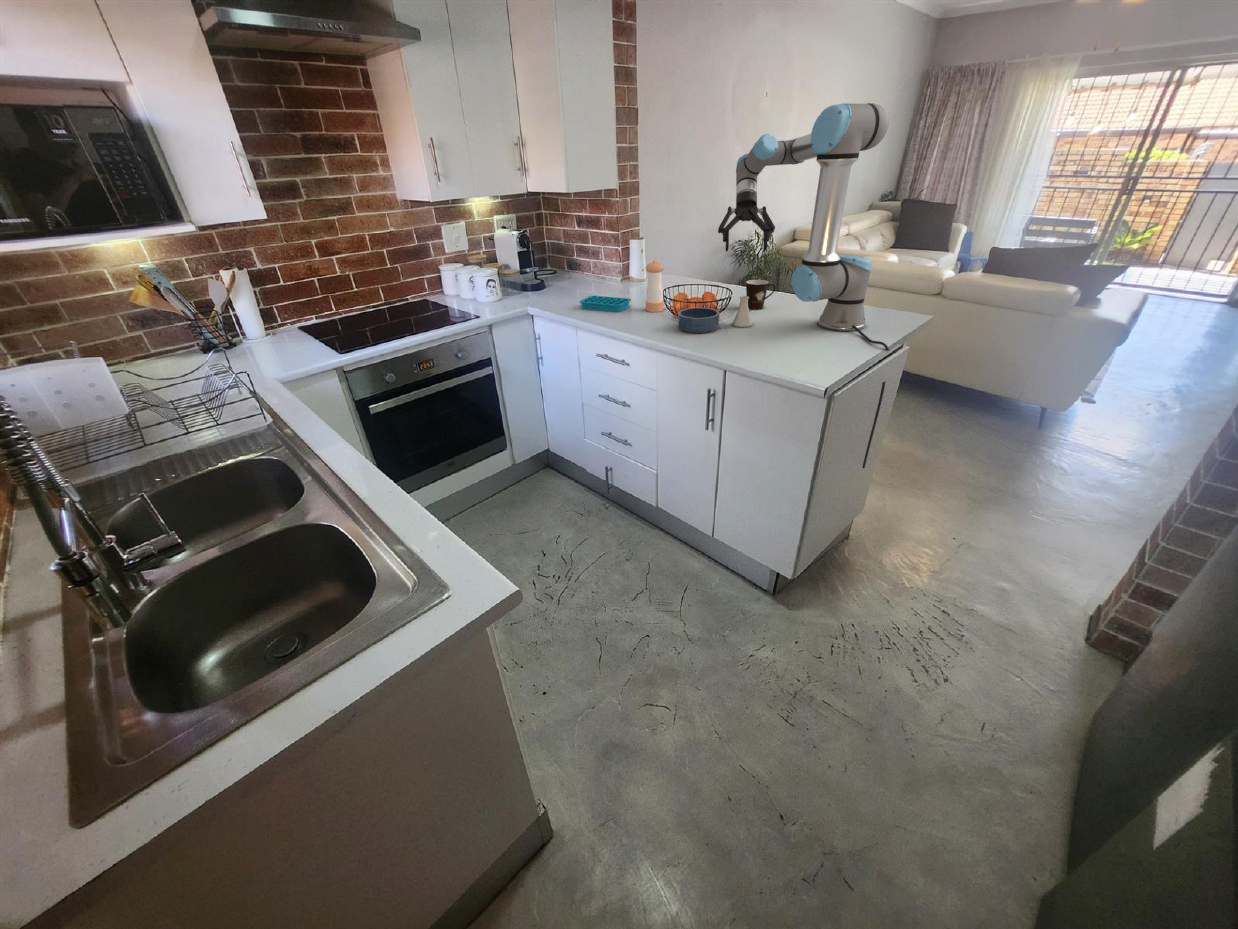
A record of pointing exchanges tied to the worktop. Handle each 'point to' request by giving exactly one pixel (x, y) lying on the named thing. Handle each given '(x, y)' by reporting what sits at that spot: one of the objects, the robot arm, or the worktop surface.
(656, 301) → the pepper shaker
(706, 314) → the bowl
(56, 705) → the worktop surface
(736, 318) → the flask
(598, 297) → the ice cube tray
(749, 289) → the coffee mug
